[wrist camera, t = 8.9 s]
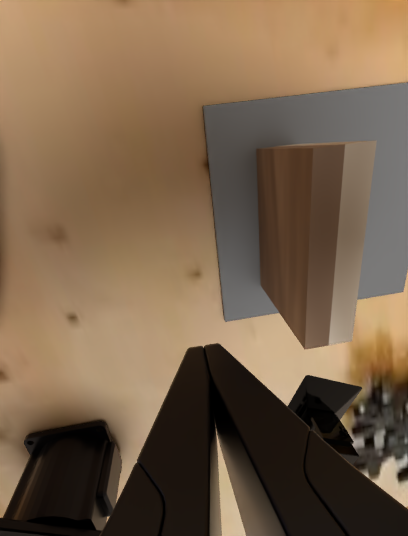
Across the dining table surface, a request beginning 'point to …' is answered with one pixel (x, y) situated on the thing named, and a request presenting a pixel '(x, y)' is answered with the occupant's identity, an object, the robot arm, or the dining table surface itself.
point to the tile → (314, 234)
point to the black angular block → (326, 411)
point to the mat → (304, 132)
